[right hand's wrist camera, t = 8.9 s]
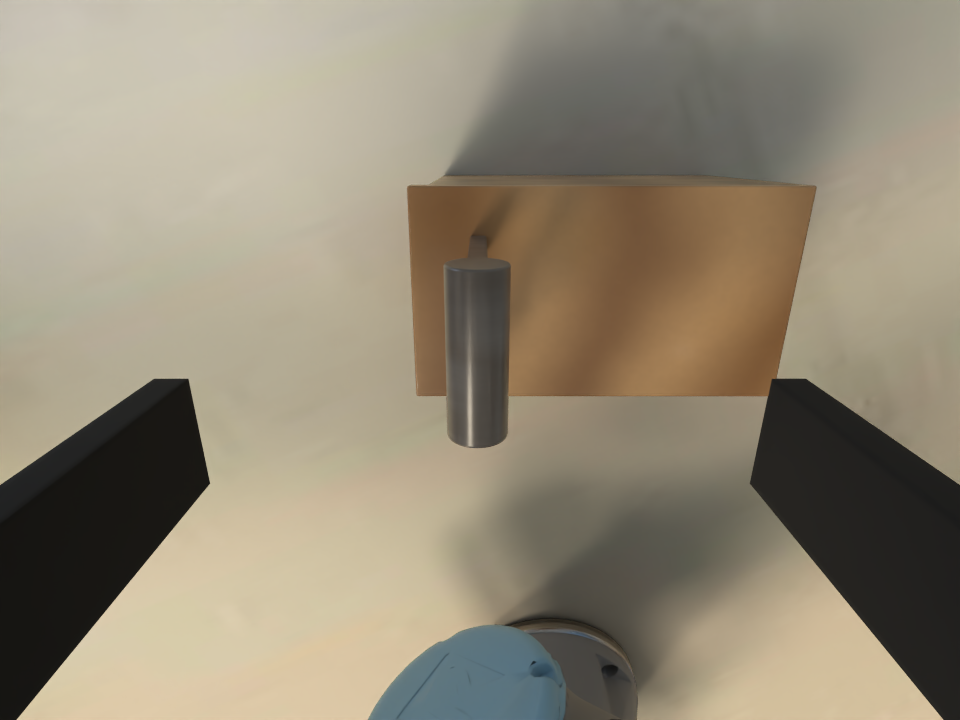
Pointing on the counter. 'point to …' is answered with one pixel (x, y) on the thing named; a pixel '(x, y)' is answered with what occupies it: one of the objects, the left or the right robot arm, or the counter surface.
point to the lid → (598, 292)
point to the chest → (596, 180)
